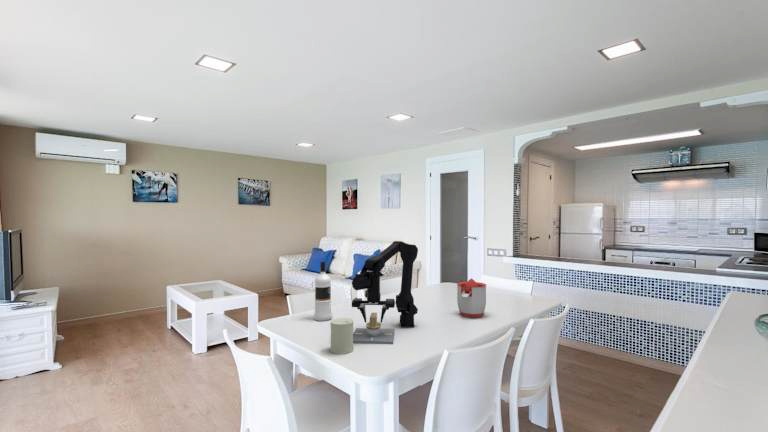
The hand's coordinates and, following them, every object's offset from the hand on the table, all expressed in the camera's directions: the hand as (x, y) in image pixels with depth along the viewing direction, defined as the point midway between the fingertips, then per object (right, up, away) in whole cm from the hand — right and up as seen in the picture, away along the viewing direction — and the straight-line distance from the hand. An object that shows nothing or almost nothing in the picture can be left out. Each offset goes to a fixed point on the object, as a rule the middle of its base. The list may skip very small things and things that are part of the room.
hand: (373, 322), depth 163 cm
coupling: (0, -2, 0) cm, 2 cm away
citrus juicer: (+51, -7, +35) cm, 62 cm away
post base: (0, -6, 0) cm, 6 cm away
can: (-12, -7, -16) cm, 21 cm away
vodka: (-27, -7, +29) cm, 40 cm away
